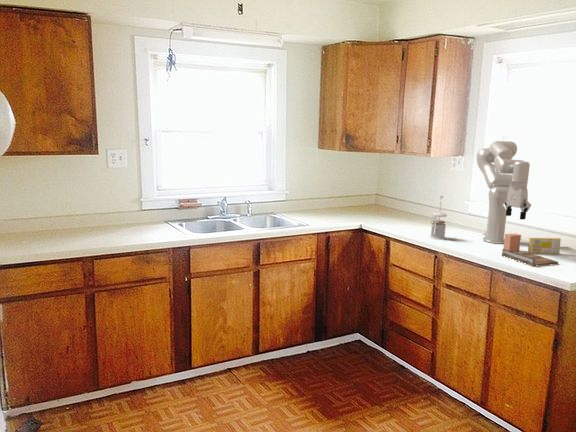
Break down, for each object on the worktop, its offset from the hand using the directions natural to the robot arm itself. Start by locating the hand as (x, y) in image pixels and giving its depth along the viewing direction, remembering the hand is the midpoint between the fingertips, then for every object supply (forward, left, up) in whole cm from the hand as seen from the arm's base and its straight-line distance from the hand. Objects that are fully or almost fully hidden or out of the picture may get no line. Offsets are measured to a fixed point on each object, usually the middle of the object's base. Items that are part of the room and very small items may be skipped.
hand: (515, 217), depth 264 cm
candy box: (+8, +14, -19) cm, 24 cm away
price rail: (+17, -13, -17) cm, 27 cm away
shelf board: (+17, -5, -18) cm, 25 cm away
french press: (-37, -20, -18) cm, 46 cm away
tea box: (0, 0, -18) cm, 18 cm away
